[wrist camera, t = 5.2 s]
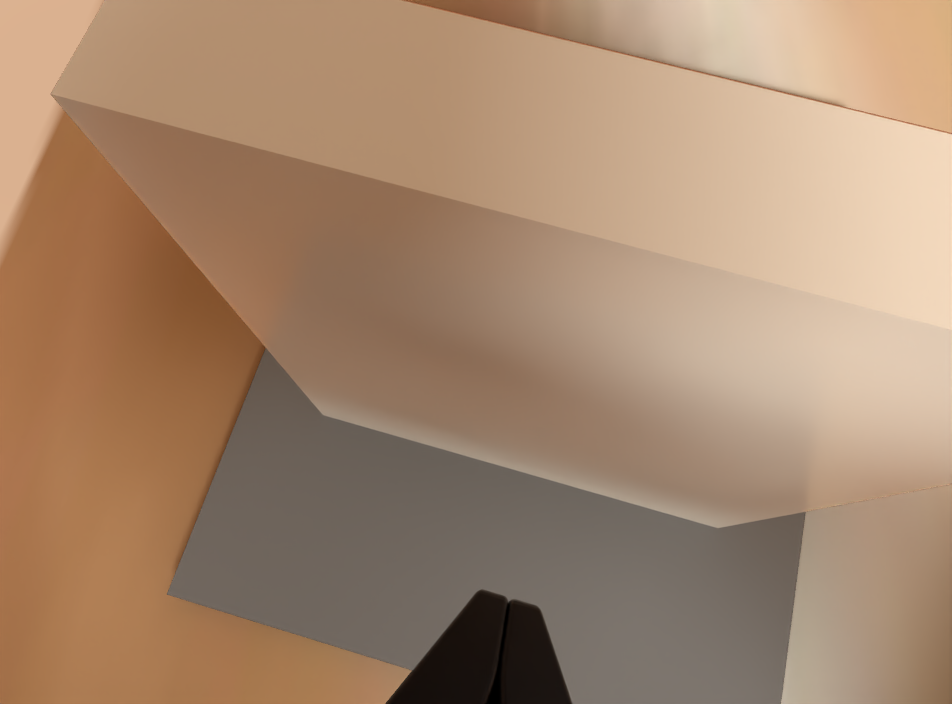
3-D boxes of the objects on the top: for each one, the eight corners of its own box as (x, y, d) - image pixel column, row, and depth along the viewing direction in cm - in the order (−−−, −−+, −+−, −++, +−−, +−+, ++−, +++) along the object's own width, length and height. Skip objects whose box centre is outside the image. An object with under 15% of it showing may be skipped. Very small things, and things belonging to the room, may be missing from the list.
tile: (717, 528, 16) (1295, 419, 5) (322, 414, 17) (49, 92, 6) (730, 448, 17) (1272, 192, 6) (349, 342, 18) (150, -79, 6)
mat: (761, 775, 15) (770, 781, 15) (175, 593, 16) (166, 594, 16) (847, 121, 21) (857, 110, 20) (406, 12, 22) (405, 0, 21)
